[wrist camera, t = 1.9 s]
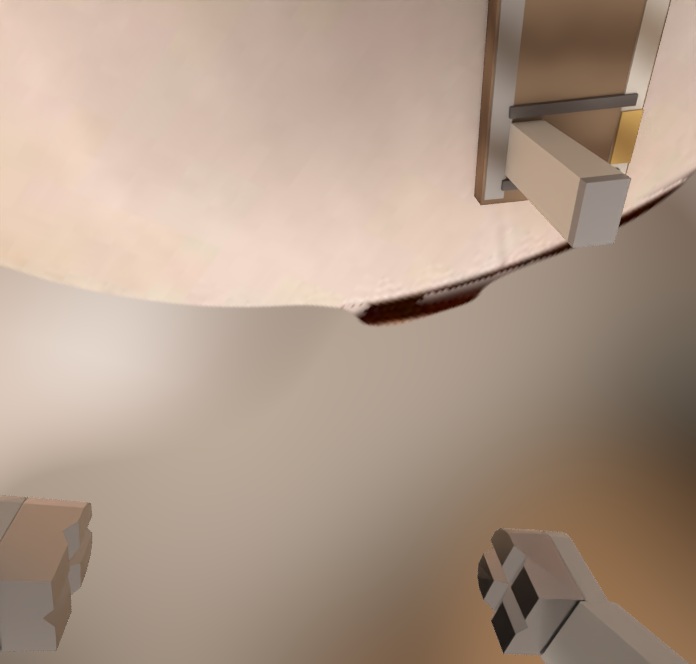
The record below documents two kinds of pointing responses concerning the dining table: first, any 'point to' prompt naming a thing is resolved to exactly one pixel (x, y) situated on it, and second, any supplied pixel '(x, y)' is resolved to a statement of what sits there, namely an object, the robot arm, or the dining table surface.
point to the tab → (566, 183)
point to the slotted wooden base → (565, 78)
